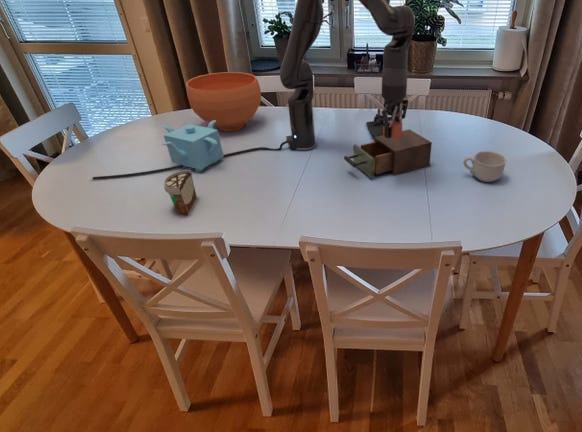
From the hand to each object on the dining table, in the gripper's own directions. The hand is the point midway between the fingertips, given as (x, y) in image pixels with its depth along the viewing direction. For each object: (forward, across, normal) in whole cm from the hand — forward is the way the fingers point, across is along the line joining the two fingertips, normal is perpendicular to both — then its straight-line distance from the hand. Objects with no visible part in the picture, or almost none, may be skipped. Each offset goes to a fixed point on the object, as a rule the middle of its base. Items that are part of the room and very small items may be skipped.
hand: (392, 135), depth 127 cm
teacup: (+17, -22, +24) cm, 37 cm away
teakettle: (+17, +33, -66) cm, 76 cm away
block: (0, 0, 0) cm, 0 cm away
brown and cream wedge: (+17, +53, -42) cm, 70 cm away
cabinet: (+17, -14, -5) cm, 23 cm away
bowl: (+18, +2, -87) cm, 89 cm away
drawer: (+16, -3, -10) cm, 19 cm away
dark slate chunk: (+17, -35, -28) cm, 48 cm away
